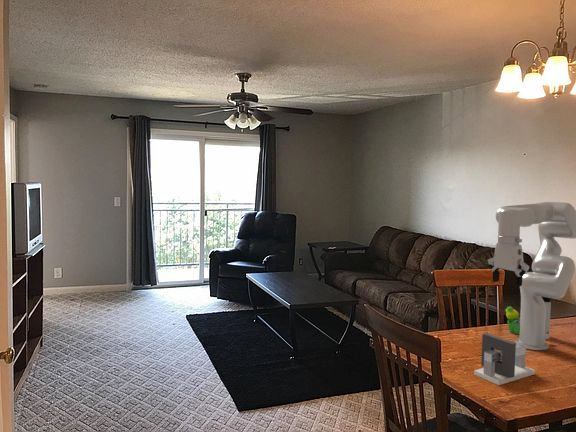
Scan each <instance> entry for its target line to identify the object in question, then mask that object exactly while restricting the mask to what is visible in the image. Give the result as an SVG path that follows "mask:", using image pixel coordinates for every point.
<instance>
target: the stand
mask: <svg viewBox="0 0 576 432" xmlns="http://www.w3.org/2000/svg"><path fill="white" fill-rule="evenodd" d="M473 372H474V376H477V377H479V378H481V379H483V380H486V381H488V382H490V383H493V384H495V385H497V386H500V385H504V384H508V383H510V382H513V381H516V380H517V381H518V380H520V379H522V378H527V377H529V376H532V375H535V374H536V370H535V369H533V368H531V367H527V366H526V354H523V355H519V356H516V357H515V375H514V377H512V378H510V377H507V376H505V375H502V374H500V373H498V372H495V362H494V363H490V362H488V361H485V360H484V367H482V368H479V369H475V370H474V371H473Z"/></svg>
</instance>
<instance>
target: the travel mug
mask: <svg viewBox="0 0 576 432" xmlns="http://www.w3.org/2000/svg"><path fill="white" fill-rule="evenodd" d="M542 299H543V300H544V302H545V305H546V319H545V335H546V334H548V335H549V336H550V330H551V329H550V326H551V325H550V324H551V307H552V306H551V305H552V302H551V301H552V298H547V297H542Z"/></svg>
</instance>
